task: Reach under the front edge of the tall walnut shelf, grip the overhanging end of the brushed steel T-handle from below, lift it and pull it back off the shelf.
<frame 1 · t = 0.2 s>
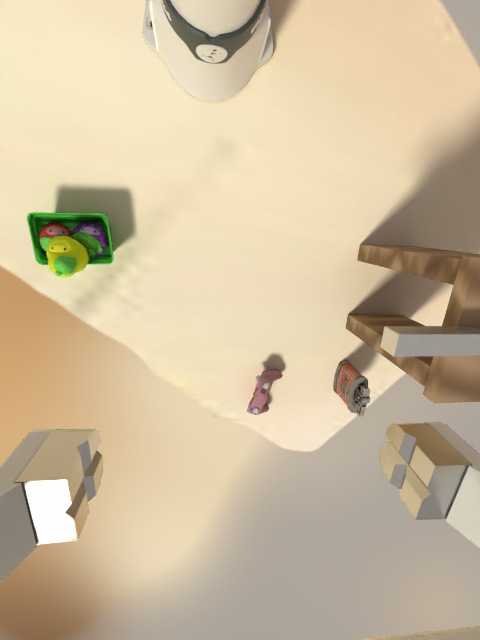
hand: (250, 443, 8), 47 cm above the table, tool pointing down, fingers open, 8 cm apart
walnut shelf: (380, 288, 59), on the table
steel t handle: (469, 336, 34), point 26 cm above the table, touching walnut shelf
lighter: (341, 376, 65), on the table
fruit basket: (85, 241, 50), on the table
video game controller: (261, 385, 63), on the table
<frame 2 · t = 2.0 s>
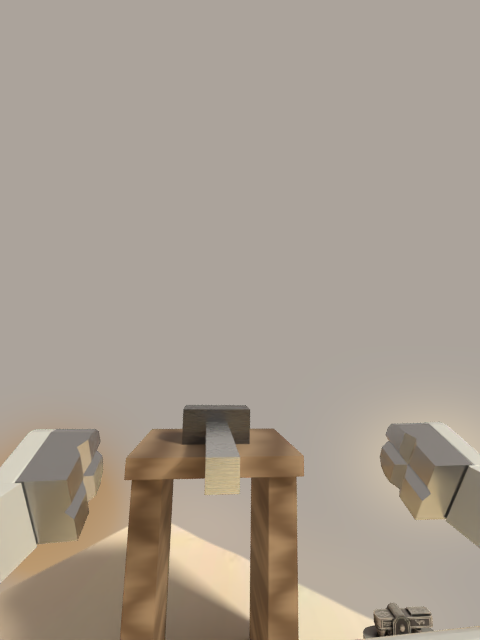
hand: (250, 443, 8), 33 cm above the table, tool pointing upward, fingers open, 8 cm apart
steel t handle: (217, 451, 32), point 26 cm above the table, touching walnut shelf
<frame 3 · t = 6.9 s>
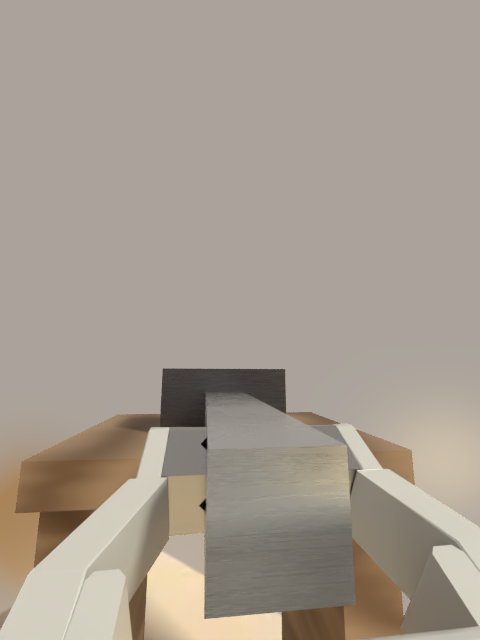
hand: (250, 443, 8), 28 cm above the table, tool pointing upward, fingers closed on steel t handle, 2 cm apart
steel t handle: (228, 444, 15), point 26 cm above the table, touching gripper, walnut shelf
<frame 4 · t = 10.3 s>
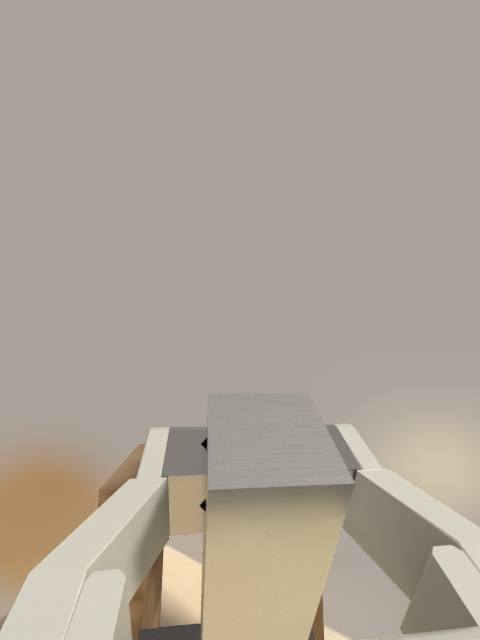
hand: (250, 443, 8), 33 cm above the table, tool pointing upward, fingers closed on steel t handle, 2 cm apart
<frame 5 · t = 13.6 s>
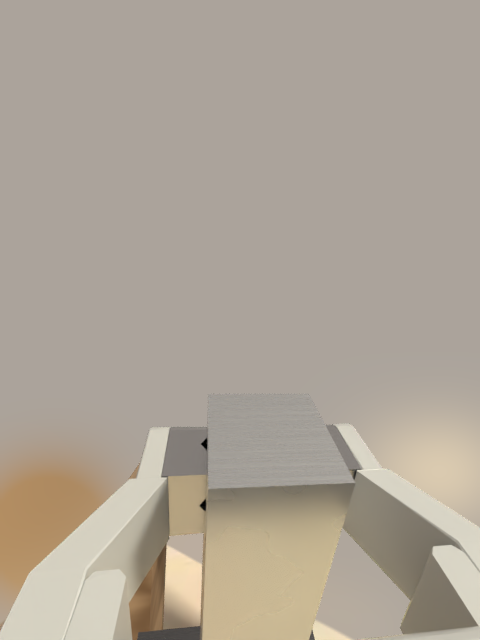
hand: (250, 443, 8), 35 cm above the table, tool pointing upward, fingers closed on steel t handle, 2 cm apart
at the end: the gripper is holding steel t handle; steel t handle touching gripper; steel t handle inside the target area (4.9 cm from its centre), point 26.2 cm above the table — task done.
